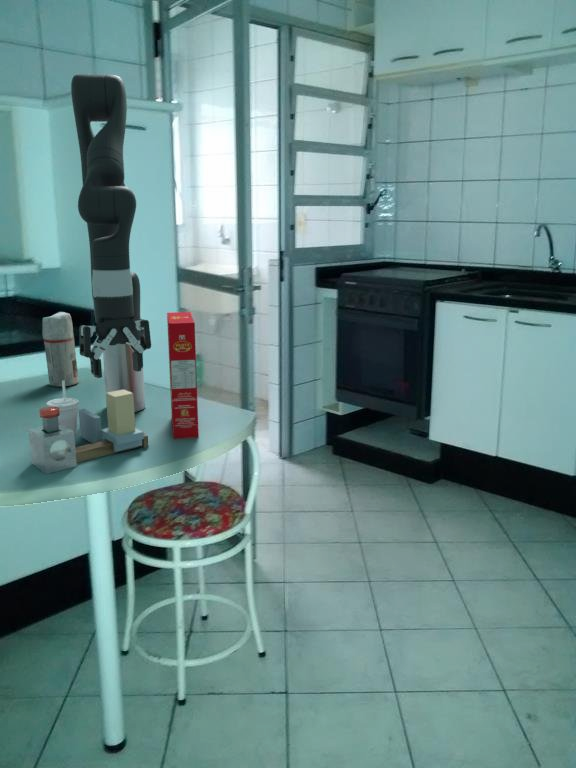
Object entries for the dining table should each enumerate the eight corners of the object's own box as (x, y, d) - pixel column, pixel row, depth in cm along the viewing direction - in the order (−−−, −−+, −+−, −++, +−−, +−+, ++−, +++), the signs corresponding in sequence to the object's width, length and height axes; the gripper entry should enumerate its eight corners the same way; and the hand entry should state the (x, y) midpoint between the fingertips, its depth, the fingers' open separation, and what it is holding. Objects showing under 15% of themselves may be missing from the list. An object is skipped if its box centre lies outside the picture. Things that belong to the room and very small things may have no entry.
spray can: (67, 388, 187) (61, 315, 182) (41, 386, 189) (35, 314, 184) (85, 381, 195) (79, 311, 190) (59, 379, 197) (53, 310, 192)
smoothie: (88, 446, 143) (83, 380, 139) (60, 454, 138) (54, 387, 135) (71, 439, 147) (66, 375, 143) (44, 447, 142) (37, 381, 139)
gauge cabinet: (32, 463, 133) (28, 429, 131) (62, 456, 137) (59, 422, 135) (46, 474, 128) (43, 438, 126) (77, 466, 132) (74, 432, 130)
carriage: (80, 436, 147) (76, 385, 145) (110, 429, 152) (107, 379, 149) (112, 455, 136) (109, 400, 134) (144, 447, 141) (141, 393, 138)
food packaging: (171, 418, 161) (167, 312, 155) (194, 417, 162) (190, 312, 156) (173, 438, 147) (168, 323, 141) (198, 437, 148) (194, 322, 142)
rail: (64, 457, 136) (63, 446, 136) (136, 440, 146) (136, 429, 146) (74, 464, 133) (73, 453, 132) (148, 446, 143) (147, 435, 142)
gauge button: (39, 444, 132) (36, 408, 130) (58, 440, 134) (54, 405, 132) (47, 449, 129) (43, 413, 127) (65, 445, 131) (62, 409, 129)
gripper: (136, 288, 141) (140, 366, 145) (69, 293, 132) (76, 376, 136) (155, 291, 135) (158, 372, 139) (86, 297, 126) (92, 383, 130)
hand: (117, 374), depth 138 cm, fingers open, 8 cm apart
